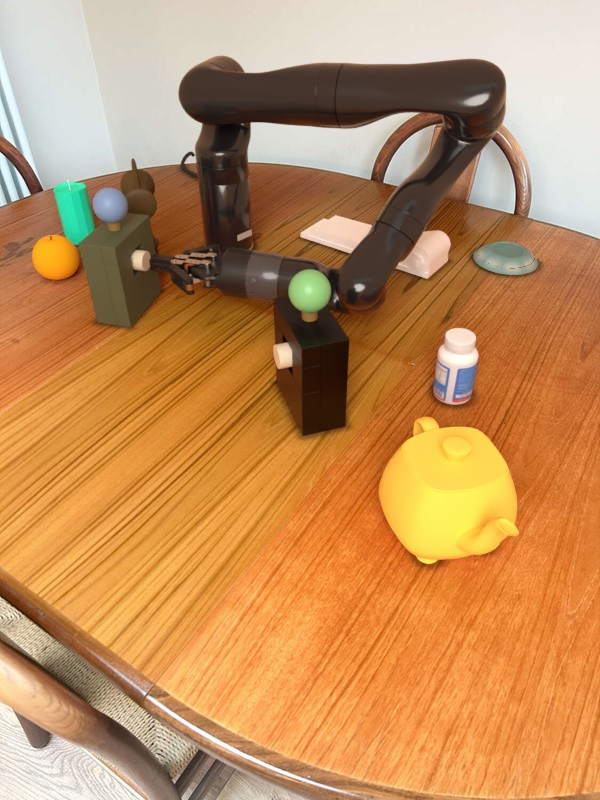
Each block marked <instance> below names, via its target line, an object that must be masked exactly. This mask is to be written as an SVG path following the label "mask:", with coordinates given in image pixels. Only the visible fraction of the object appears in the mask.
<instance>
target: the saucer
mask: <svg viewBox="0 0 600 800" xmlns="http://www.w3.org/2000/svg"><path fill="white" fill-rule="evenodd" d="M478 255H479V256H478ZM533 255H534V254H533V252H532V251H531V250H530V249H528V248H527V247H526V246H524V245H521V244H519V243H517V242H513V241H508V240H507V241H506V240H497V241H492V242H489V243H487V244H484V245H481V247H479V248H478V249H476V250H475V251H474V252H473V255H472V258H473V260H474V262H475V264H476V265H478V266H479V267H480V268H483V269H485V270H486V271H490V272H491V273H492V272H493V273H496V274H500V275H507V276H521V275H526V274H529V273H532V272H534V271H535V270H537V269H538V267H539V260H538V259H537V258H536V256H535V255H534V256H533ZM534 257H535V260H534ZM533 260H534V262H533ZM484 261H485V262H484ZM532 262H533V263H532ZM488 263H489V264H488ZM531 263H532V264H531ZM529 264H531V265H529ZM527 265H529V266H527ZM497 266H498V267H497ZM523 266H526V267H523ZM501 267H502V268H501ZM518 267H523V268H518ZM510 268H515V269H510Z"/></svg>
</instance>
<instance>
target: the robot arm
mask: <svg viewBox="0 0 600 800" xmlns="http://www.w3.org/2000/svg"><path fill="white" fill-rule="evenodd" d="M177 93H178V94H177V96H178V101H179V103H180V105H181V108H182V109H183V110H184V112H185V114H187V115H188V117H190V118H191V119H193V120H194V121H195V122H198V123H200V124H201V128H200V132H199V136H198V137H197V140H196V142H195V143H194V152H193V151H188V152H187V153H185V154H184V155H183V157H182V159H181V161H180V168H181V170H182V171H183V172H185V173H186V174H188V175H190V176H192V177H194V178H196V179H197V182H198V183H197V184H198V192H199V200H200V208H201V209H200V210H201V219H202V228H203V239H204V246H198V247H194V248H193V247H192V248H188V249H184V250H183V251H182V253H181V254H178V253H177V254H175V255H174V256H172V255H165V254H159V255H157V254H154V255H153V256H152V257H151V258H150V259H149V262H150V268H151V270H152V271H157V272H159V273H166V274H170V279H171V282H172V283H173V284H174V285H175V286H176V287H177V288H179V289H180V290H181V291H183V292H184V293H185V294H186V295H188V296H194V295H195V294H196V292H195V290H196V289H199V288H201V287H202V288H204V289H218V290H219V291H220V293H222V294H223V295H224V296H225V297H229V298H234V299H235V298H236V299H243V300H249V301H258V302H266V303H274V301H273V299H274V298H280V297H285V296H289V294H288V288H289V284H290V282H291V280H292V278H293V277H294V276H295V275H296V274H297V273H299V272H300V271H303V270H307V269H312V270H317V271H319V272H321V273H322V274H324V275H325V276H326V278H327V279H328V281H329V283H330V286H331V296H330V299H329V302H328V303H327V305H326V306H327V307H328V309H329V310H330V312H335V313H337V314H343V315H348V316H353V317H367V316H371V315H373V314H375V313H377V312H378V311H380V309H382V307H383V305H384V303H385V302H386V297H387V289H386V285H387V283H388V281H389V279H390V278H391V276H392V275H393V273H394V272H395V270H396V267H397V265H398V264H399V262H402V261H404V260H405V259H406V258H407V257H408V256H409V254H410V253H411V252H412V250H413V249H414V247H415V245H416V244H417V242H418V240H419V239H420V237H421V235H422V234H423V232H425V231H426V229H427V227H428V225H429V224H430V222H431V220H432V219H433V217H434V216H435V214H436V212H437V211H438V209H439V208H440V206H441V204H442V203H443V202H444V200H445V199H446V197H447V195H448V194H449V192H450V191H451V190H452V189H453V187H454V186H455V184H456V183H457V182H458V180H459V179H460V178H461V177H462V175H463V174H464V172H465V171H466V170H467V169H468V167H469V166H470V165H471V163H473V162H474V160H475V159H476V158H477V157H478V155H479V154H480V153H481V152H482V151H483V149H485V148H486V146H487V145H488V144H489V143H490V142H491V140H492V139H493V138H494V137H495V135H496V134H497V133H498V131H499V130H500V129H501V127H502V126H503V123H504V120H505V117H506V110H507V104H506V103H507V79H506V76H505V74H504V71H503V70H502V68H500V67H499V65H497V64H495V63H494V62H492V61H489V60H486V59H481V58H460V59H459V58H458V59H449V60H440V61H439V60H438V61H429V62H417V63H416V62H415V63H356V62H355V63H353V62H312V63H311V62H310V63H305V64H299V65H293V66H287V67H283V68H278V69H273V70H269V71H261V72H246V71H245V70H244V68H243V66H241V64H240V63H239V62H238V61H237V60H236V59H234V58H233V57H230V56H228V55H216V56H213V57H210V58H207V59H206V60H204V61H201V62H200V63H198V64H196V65H194V66H193V67H192V68H190V69H189V70H188V71H187V72H185V74H184V75H183V77H182V79H181V80H180V83H179V85H178V91H177ZM409 113H413V114H414V113H415V114H430V115H431V114H432V115H439V116H441V119H442V124H441V126H440V128H439V131H438V134H437V136H436V138H435V140H434V142H433V145H432V147H431V149H430V150H429V152H428V153H427V155H426V156H425V158H424V159H423V161H422V162H421V163H420V164H419V165H418V166H417V168H415V169H414V170H413V172H411V173H410V174H409V175H408V176H407V177H406V178H405V179H404V180H403V181H402V182H401V183H399V185H398V186H397V187H396V188H395V189H394V191H393V192H392V193H391V195H390V196H389V197H388V199H387V200H386V202H385V203H384V205H383V207H382V208H381V210H380V212H379V213H378V215H377V216H376V218H375V220H374V222H373V223H372V224H371V225H372V227H371V229H370V231H369V233H368V234H367V235H366V236H365V237H364V238H363V239H362V240H361V242H360V243H359V244H358V245H357V246H356V248H355V249H354V250H353V251H352V252H351V254H350V253H349V254H348V256H347V257H346V258H345V260H344V261H343V263H342V265H341V266H340V268H336V267H330V266H327V265H325V264H323V263H322V262H320V261H319V260H316V259H313V258H307V257H301V256H292V255H285V254H280V253H277V252H272V251H265V250H256V249H254V248H255V246H254V239H253V238H254V236H253V219H252V218H253V217H252V203H251V202H252V200H251V186H250V184H251V183H250V171H249V170H250V169H249V145H250V143H251V135H252V125H251V124H253V123H261V124H262V123H263V124H273V125H274V124H275V125H284V126H295V127H296V126H297V127H311V128H323V129H339V130H340V129H342V130H344V129H345V130H347V129H357V128H362V127H365V126H369V125H371V124H373V123H376V122H378V121H381V120H383V119H386V118H389V117H391V116H394V115H398V114H409ZM189 157H192V158H193V157H195V165H196V172H195V171H192V170H190V169H188V168H186V166H185V163H186V161H187V160H188V158H189Z"/></svg>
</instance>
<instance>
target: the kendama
mask: <svg viewBox="0 0 600 800" xmlns="http://www.w3.org/2000/svg"><path fill="white" fill-rule="evenodd" d="M130 163H131V170H127V172H124V174H123V175H122V177H121V179H120V191H121V192H122V193H123V194H124V196H125V197H126V199H127V202H128V211H127V213H134V214H142V215H149V217H150V219H151V218H153V217H154V216H155V214H156V212H157V210H158V202H157V199H156V196H155V192H156V184H155V181H154V177H152V175H151V174H150V173H149V172H148V171H145V170H143V169H138V167H137V163H136V160H135V158H134V157H132V158H131V161H130ZM152 235H153V241H154V247H155V253H156V254H157V255H160V251H159V246H160V241H159V239H158V238H157V237H156V236H155V234H154V233H153V231H152Z"/></svg>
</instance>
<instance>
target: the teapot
mask: <svg viewBox="0 0 600 800" xmlns="http://www.w3.org/2000/svg"><path fill="white" fill-rule="evenodd" d="M412 428H413V429H412V437H409V438H408V439H407V440H405V441H404V442H403V443H402V444H401V445H400V446H399V447H398V449H397V450H396V451H395V453H394V454H393V455H392V456H391V458H390V459H389V460H388V462H387V463H386V465H385V466H384V467H385V468H384V469H383V472H382V474H381V477H380V480H379V486H378V499H379V502H380V503H379V504H380V506H381V509H382V512H383V515H384V517H385V519H386V522H387V523H388V525H389V527H390V529H391V530H392V531H393V533H394V535H395V536H396V538H397V539H398V541H399V542H400V543H401V544H402V546H403V547H404V548H405V549H406V550H407V551H408V552H409V553H410V554H412V555H414V556H415V557H416V559H417V560H418V561H419V562H421V563H422V564H426V565H432V564H434V563H436V562H438V561H441V560H442V561H443V560H445V561H446V560H455V559H461V558H466V557H471V556H473V555H474V556H481V555H486V554H488V553H490V552H493V551H494V550H496V549H497V548H498V547H499V546H500V544H501V542H503V541H504V540H505V539H507V537H508V536H510V537H518V536H519V534H520V532H519V529H518V527H517V526H516V521H517V516H518V514H517V513H518V495H517V491H516V487H515V483H514V480H513V479H514V478H513V476H512V473H511V470H510V468H509V466H508V464H507V462H506V460H505V458H504V457H503V455H502V454H501V452H500V451H499V449H498V448H497V446H496V445H495V444H494V443H493V441H492V440H491V439H490V438H489V437H488V436H487V435H486V434H485V433H484V432H482V431H481V430H480V429H477V428H474V427H469V426H449V427H440V426H439V423H438V422H437V421H436V420H435V419H434V418H433V417H431V416H421V417H418V418H417V419H415V421H414V423H413V427H412Z"/></svg>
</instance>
